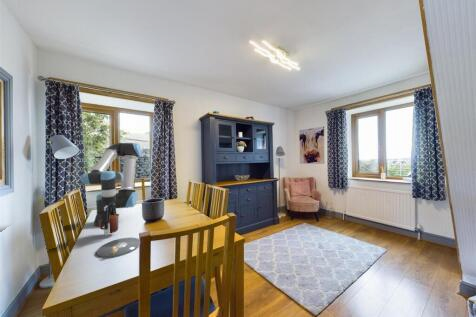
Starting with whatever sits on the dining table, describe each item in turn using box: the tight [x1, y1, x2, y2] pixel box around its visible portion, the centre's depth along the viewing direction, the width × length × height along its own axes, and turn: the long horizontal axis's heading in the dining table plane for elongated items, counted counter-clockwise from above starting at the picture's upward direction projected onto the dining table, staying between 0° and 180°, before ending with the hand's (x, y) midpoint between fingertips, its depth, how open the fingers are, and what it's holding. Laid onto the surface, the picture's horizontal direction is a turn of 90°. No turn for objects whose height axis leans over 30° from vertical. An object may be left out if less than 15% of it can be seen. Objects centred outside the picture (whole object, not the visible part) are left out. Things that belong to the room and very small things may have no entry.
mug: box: [98, 213, 120, 234], centre depth 116 cm, size 12×9×10 cm
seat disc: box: [96, 237, 140, 259], centre depth 102 cm, size 20×20×5 cm
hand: (110, 230), depth 117 cm, fingers closed on mug, 9 cm apart
